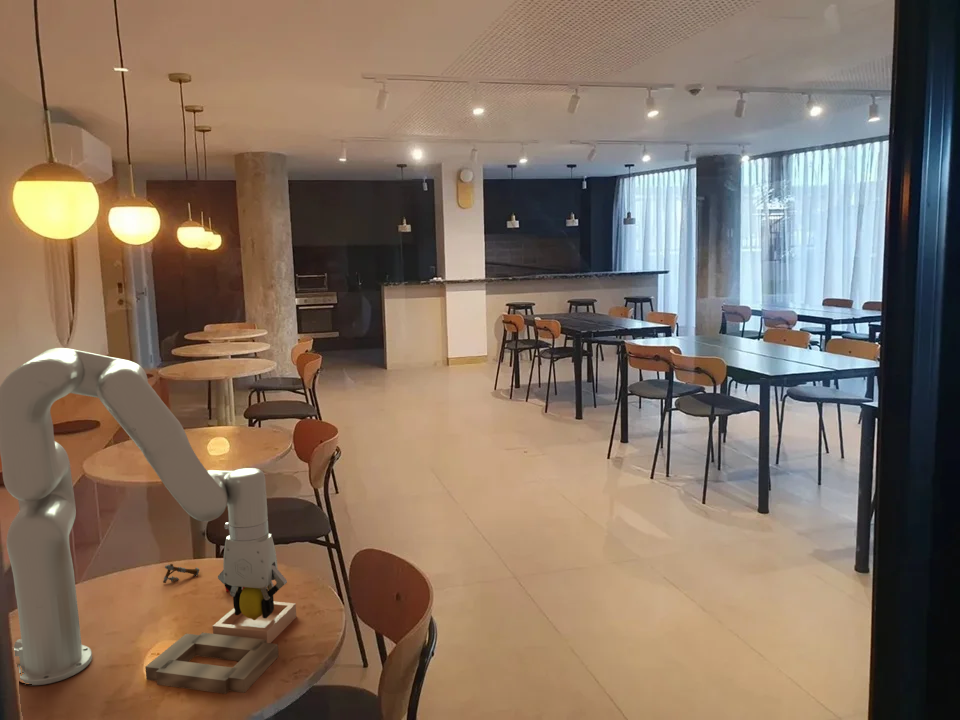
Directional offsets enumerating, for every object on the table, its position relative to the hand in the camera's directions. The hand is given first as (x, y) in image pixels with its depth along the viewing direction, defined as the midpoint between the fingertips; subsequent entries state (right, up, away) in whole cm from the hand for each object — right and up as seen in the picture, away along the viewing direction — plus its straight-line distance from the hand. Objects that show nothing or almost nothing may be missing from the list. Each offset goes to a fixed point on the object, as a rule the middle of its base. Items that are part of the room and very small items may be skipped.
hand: (254, 612), depth 151 cm
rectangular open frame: (-3, -6, -14) cm, 15 cm away
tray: (0, -3, +1) cm, 3 cm away
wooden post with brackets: (-25, -1, +24) cm, 35 cm away
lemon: (0, -2, 0) cm, 2 cm away
